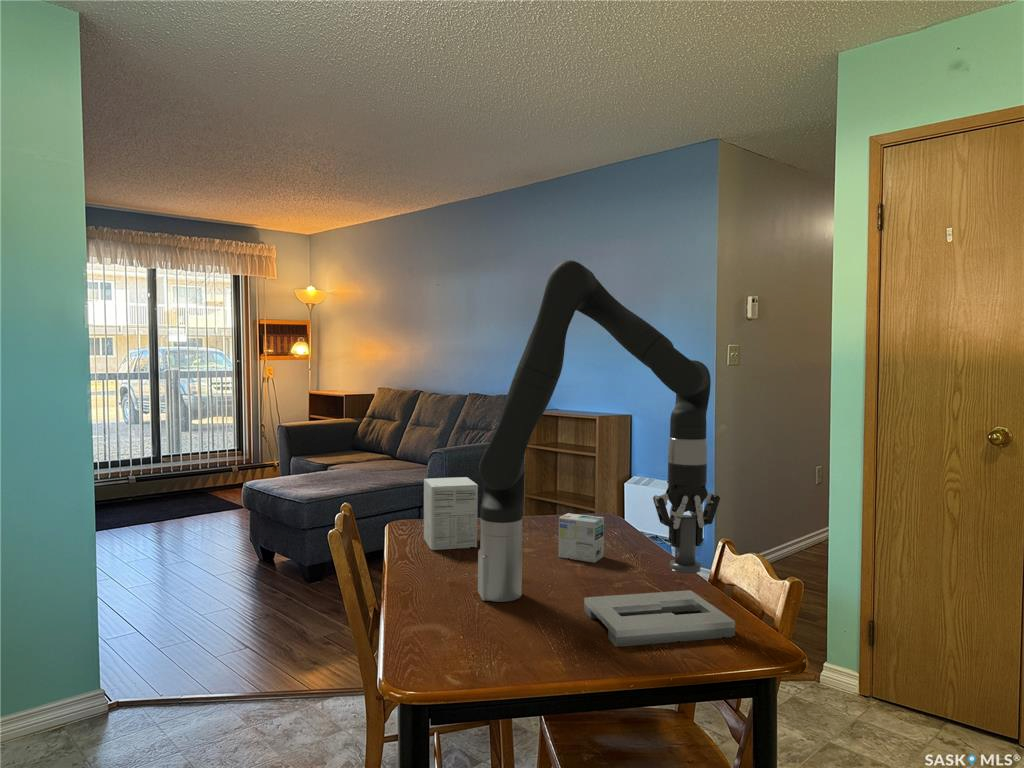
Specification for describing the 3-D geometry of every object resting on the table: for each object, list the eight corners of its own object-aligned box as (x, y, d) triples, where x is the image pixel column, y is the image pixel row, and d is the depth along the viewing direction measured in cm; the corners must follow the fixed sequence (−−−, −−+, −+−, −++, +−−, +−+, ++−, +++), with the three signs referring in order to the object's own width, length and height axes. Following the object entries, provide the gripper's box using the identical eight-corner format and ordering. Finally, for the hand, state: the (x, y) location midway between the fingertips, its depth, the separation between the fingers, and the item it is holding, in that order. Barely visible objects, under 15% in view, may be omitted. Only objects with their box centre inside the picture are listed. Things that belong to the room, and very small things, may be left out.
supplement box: (478, 547, 194) (478, 484, 193) (430, 551, 190) (431, 486, 189) (467, 535, 206) (468, 476, 206) (422, 538, 203) (423, 478, 202)
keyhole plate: (616, 646, 129) (616, 630, 129) (584, 611, 146) (584, 597, 146) (734, 636, 134) (735, 621, 134) (690, 603, 152) (690, 590, 152)
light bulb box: (604, 557, 186) (605, 516, 186) (595, 563, 180) (596, 521, 180) (567, 551, 191) (567, 512, 191) (557, 557, 185) (557, 516, 185)
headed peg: (677, 574, 138) (679, 521, 137) (664, 565, 143) (665, 514, 143) (706, 572, 139) (707, 519, 138) (691, 563, 145) (692, 513, 144)
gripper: (662, 464, 135) (660, 552, 136) (729, 462, 138) (727, 549, 139) (646, 458, 142) (644, 542, 143) (710, 457, 145) (708, 539, 146)
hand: (685, 545), depth 141 cm, fingers closed on headed peg, 4 cm apart
